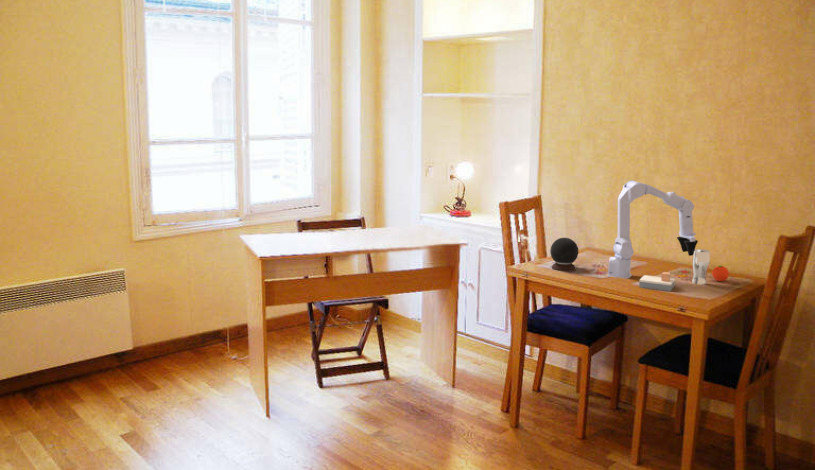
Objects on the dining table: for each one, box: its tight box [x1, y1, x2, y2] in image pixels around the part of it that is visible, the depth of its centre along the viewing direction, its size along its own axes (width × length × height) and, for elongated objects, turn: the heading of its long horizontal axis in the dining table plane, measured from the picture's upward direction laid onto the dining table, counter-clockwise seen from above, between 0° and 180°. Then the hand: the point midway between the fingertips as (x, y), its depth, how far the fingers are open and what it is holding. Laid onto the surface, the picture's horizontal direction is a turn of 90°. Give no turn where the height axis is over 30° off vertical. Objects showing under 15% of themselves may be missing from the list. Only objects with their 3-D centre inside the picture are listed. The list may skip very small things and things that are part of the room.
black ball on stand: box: [549, 237, 579, 272], centre depth 360 cm, size 13×13×15 cm
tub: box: [638, 281, 676, 292], centre depth 327 cm, size 13×10×3 cm
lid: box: [638, 271, 676, 286], centre depth 327 cm, size 13×10×4 cm
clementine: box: [711, 265, 730, 282], centre depth 340 cm, size 8×7×7 cm
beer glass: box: [691, 248, 711, 285], centre depth 334 cm, size 7×7×15 cm
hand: (688, 253), depth 347 cm, fingers open, 7 cm apart
